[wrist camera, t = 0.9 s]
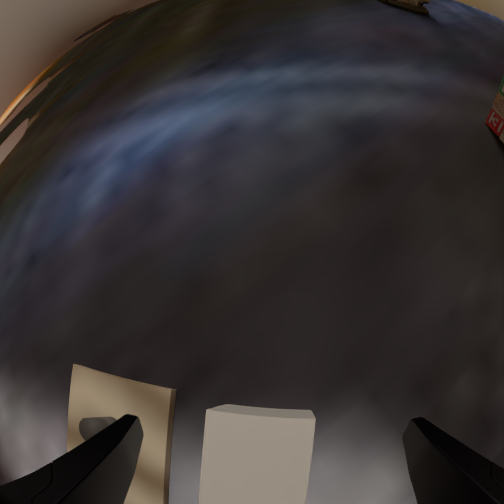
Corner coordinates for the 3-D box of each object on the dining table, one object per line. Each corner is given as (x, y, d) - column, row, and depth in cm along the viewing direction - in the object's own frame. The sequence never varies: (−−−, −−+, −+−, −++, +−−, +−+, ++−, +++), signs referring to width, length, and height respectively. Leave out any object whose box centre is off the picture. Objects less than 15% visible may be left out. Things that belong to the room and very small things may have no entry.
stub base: (167, 541, 13) (147, 559, 10) (75, 501, 15) (49, 508, 12) (176, 389, 20) (152, 389, 16) (80, 365, 21) (50, 358, 18)
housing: (292, 542, 13) (290, 575, 8) (215, 533, 14) (195, 562, 9) (311, 410, 18) (315, 418, 13) (226, 404, 19) (206, 409, 14)
